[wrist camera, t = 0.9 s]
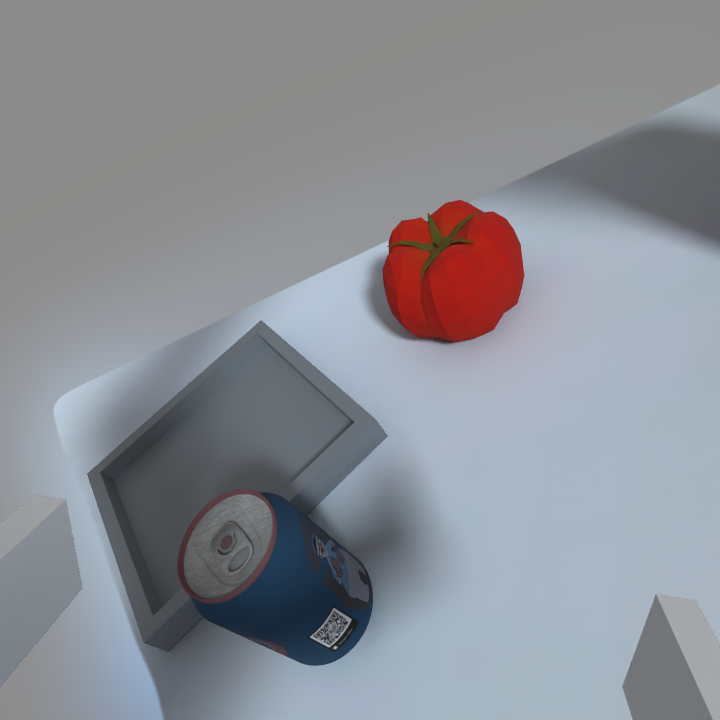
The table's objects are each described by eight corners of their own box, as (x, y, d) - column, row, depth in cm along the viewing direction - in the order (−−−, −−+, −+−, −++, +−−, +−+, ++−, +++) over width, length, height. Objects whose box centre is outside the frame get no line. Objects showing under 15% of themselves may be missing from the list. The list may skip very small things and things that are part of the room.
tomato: (560, 279, 44) (540, 189, 38) (467, 382, 42) (429, 303, 35) (465, 249, 52) (435, 170, 45) (381, 334, 49) (338, 263, 43)
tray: (273, 335, 56) (261, 320, 54) (387, 435, 42) (374, 418, 40) (106, 485, 52) (87, 473, 50) (168, 651, 38) (143, 642, 36)
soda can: (268, 615, 36) (148, 553, 28) (336, 536, 38) (242, 455, 30) (326, 697, 32) (201, 650, 23) (402, 603, 33) (310, 527, 25)
